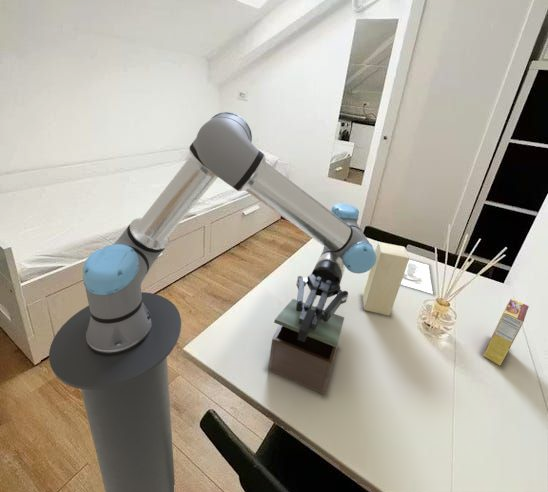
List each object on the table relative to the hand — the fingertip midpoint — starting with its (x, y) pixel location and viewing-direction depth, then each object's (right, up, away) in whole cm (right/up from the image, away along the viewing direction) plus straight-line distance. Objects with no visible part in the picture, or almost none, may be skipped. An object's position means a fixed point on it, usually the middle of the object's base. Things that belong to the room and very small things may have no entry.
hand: (302, 335), depth 57 cm
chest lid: (+3, -1, +10) cm, 10 cm away
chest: (+2, -12, +15) cm, 20 cm away
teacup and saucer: (+44, 0, +56) cm, 71 cm away
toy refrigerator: (+27, -6, +36) cm, 45 cm away
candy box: (+55, -15, +23) cm, 62 cm away
